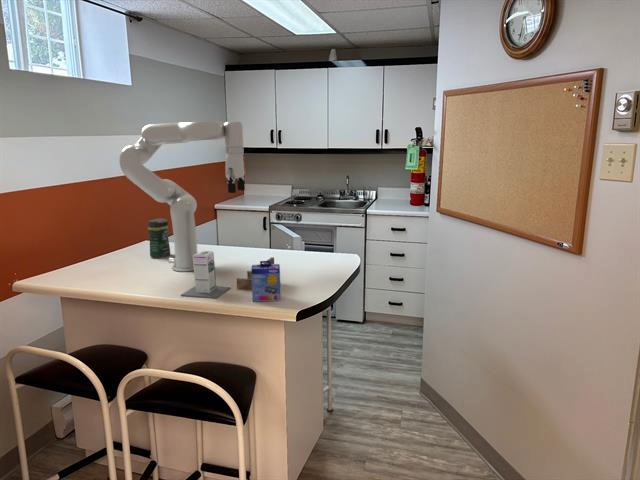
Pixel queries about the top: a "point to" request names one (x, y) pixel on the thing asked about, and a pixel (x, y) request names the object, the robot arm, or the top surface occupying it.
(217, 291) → the grey mat
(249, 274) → the stair flight
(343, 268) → the top surface
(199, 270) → the syrup box
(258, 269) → the ink cartridge box
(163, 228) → the coffee jar
